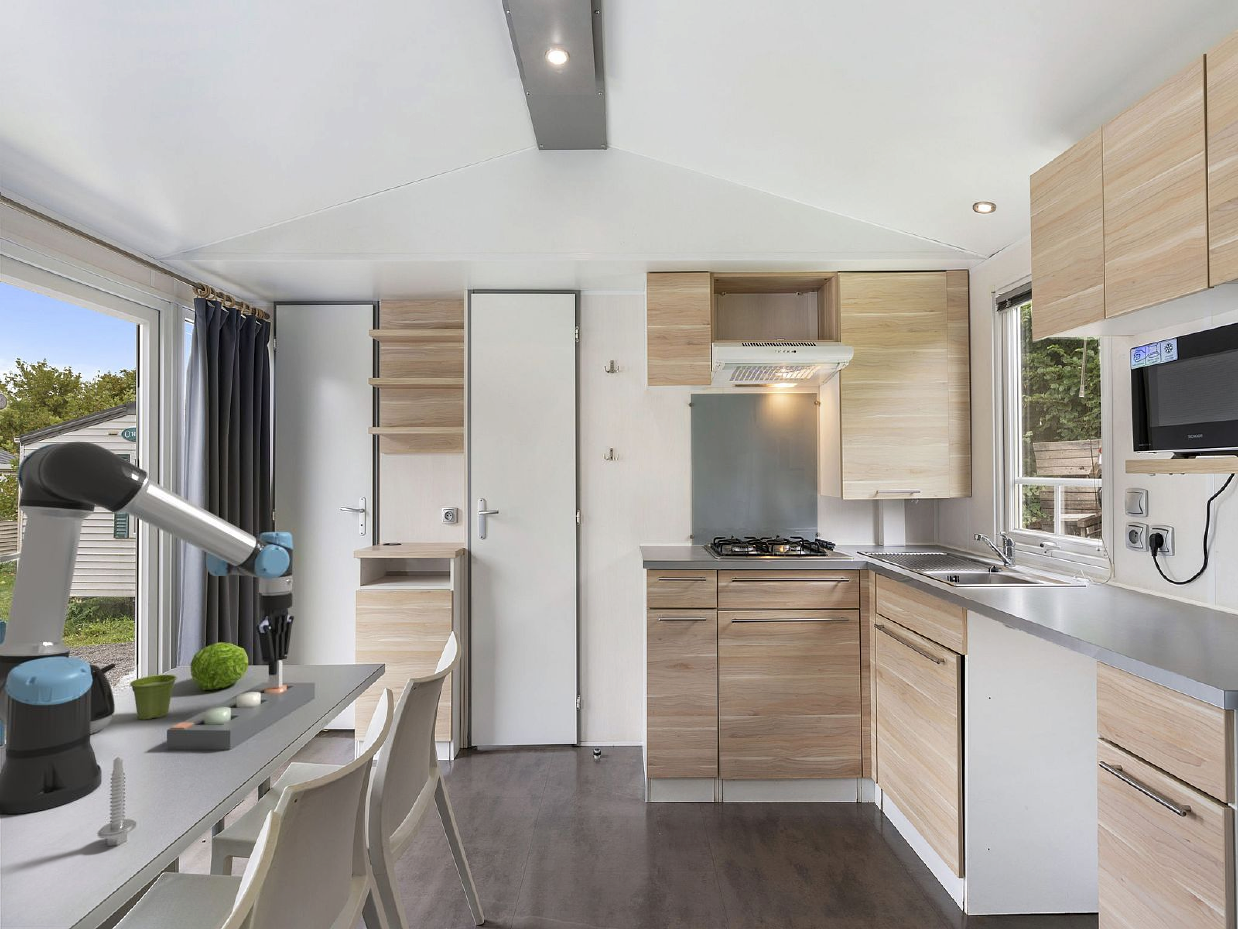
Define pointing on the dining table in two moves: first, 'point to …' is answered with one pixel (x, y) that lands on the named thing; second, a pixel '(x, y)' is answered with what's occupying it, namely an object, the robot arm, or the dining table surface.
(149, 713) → the plant pot
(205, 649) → the lettuce
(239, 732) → the button console
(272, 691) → the peach rounded knob
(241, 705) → the cream button
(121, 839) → the screw
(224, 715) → the sage button
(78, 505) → the robot arm
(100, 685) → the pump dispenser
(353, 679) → the dining table surface
